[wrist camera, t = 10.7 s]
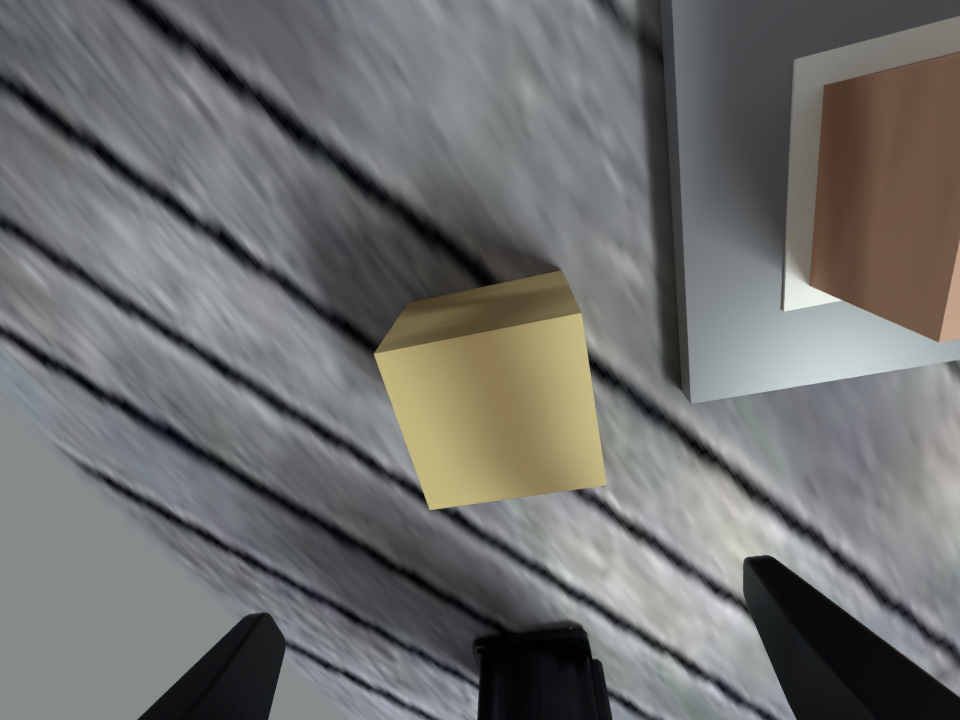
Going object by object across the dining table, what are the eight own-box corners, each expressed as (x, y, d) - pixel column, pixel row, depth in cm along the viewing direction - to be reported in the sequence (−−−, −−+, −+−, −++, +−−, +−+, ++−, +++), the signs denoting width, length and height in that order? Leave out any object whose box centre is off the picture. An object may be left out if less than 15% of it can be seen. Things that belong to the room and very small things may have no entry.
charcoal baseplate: (681, 391, 18) (692, 405, 17) (658, -32, 13) (670, -48, 12) (1080, 324, 16) (1118, 335, 15) (1259, -214, 11) (1337, -252, 10)
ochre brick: (447, 428, 20) (430, 509, 15) (408, 301, 17) (373, 354, 13) (583, 405, 19) (606, 485, 14) (561, 269, 17) (581, 313, 12)
